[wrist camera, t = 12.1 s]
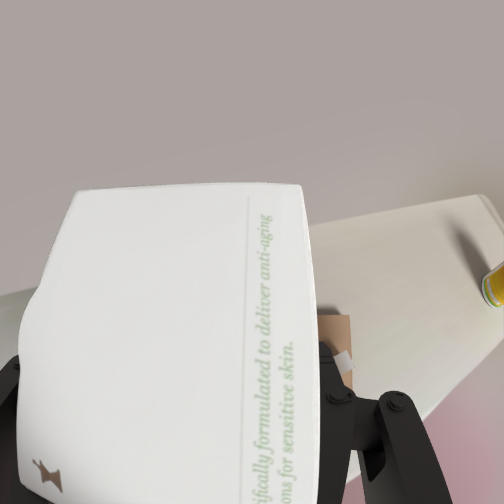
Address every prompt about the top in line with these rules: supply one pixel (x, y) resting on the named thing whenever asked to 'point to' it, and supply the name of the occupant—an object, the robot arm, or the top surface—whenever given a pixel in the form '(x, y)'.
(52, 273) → the skincare box
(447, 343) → the top surface
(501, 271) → the supplement bottle
